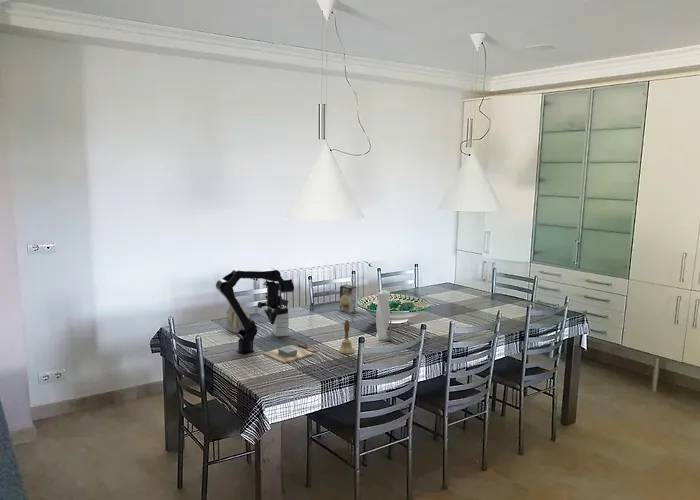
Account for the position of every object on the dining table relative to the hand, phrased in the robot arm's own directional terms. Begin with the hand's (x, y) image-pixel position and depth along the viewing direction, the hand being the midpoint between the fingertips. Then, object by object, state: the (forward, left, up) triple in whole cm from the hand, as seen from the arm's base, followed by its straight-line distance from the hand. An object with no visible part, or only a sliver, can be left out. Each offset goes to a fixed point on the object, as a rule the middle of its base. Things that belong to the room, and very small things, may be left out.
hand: (272, 324), depth 267 cm
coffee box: (+79, +24, -12) cm, 84 cm away
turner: (+12, -12, -12) cm, 21 cm away
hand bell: (+24, -28, -12) cm, 39 cm away
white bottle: (+53, -27, -12) cm, 61 cm away
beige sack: (+6, +36, -12) cm, 39 cm away
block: (-2, -10, -10) cm, 15 cm away
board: (-1, -13, -12) cm, 18 cm away
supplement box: (+16, +14, -12) cm, 25 cm away
